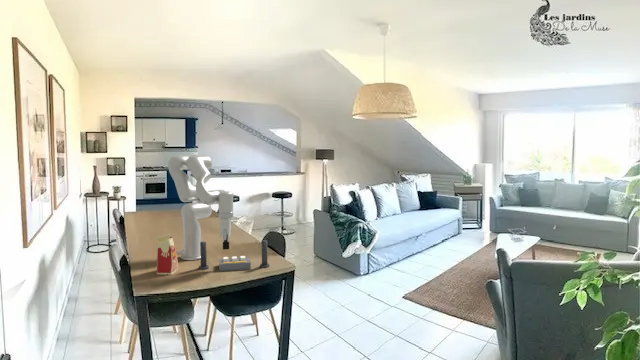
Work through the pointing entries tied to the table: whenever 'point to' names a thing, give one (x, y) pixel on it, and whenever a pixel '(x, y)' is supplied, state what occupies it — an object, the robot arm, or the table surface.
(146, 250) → the table surface
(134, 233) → the table surface
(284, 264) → the table surface
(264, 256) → the right cable post
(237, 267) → the switch panel
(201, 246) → the post
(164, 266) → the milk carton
